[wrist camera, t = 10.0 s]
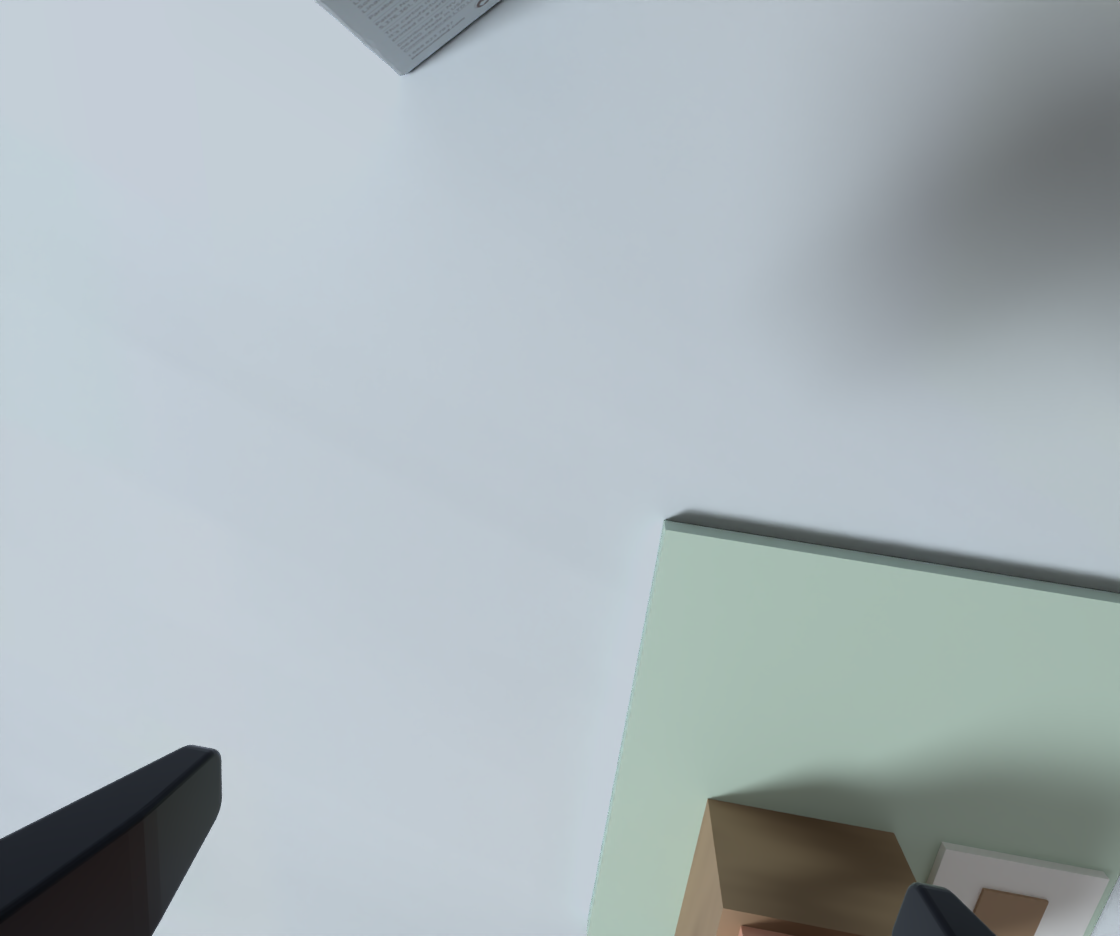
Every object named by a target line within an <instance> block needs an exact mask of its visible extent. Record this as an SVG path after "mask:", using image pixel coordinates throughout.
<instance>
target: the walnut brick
mask: <svg viewBox="0 0 1120 936" xmlns="http://www.w3.org/2000/svg"><path fill="white" fill-rule="evenodd" d="M914 882H916V879H915V877H914V875H913V873H912V871H911V869H910V866H909V864H908V862H907V860H906V858H905V856H904V853H903V851H902V849H901V847H900V845H899V843H898V840H897V838H896V836H895V834H894V833H892V832H886V831H881V830H875V829H870V828H865V827H859V826H854V825H848V824H843V823H838V822H832V821H827V820H821V819H816V818H811V817H805V816H800V815H794V814H789V813H784V812H778V811H773V810H767V809H762V808H757V807H751V806H746V805H740V804H735V803H730V802H724V801H719V800H713V799H707V803H706V807H705V811H704V816H703V820H702V824H701V828H700V832H699V836H698V840H697V844H696V848H695V853H694V857H693V861H692V865H691V869H690V873H689V877H688V881H687V886H686V890H685V894H684V898H683V902H682V906H681V910H680V914H679V919H678V923H677V927H676V931H675V935H674V936H738V934H739V931H740V927H741V925H742V926H747V927H752V928H757V929H762V930H768V931H773V932H778V933H783V934H788V935H793V936H892V930H893V926H894V924H895V921H896V918H897V915H898V913H899V910H900V907H901V904H902V902H903V899H904V896H905V894H906V891H907V889H908V887H909V886H910V885H911V884H912V883H914Z"/></svg>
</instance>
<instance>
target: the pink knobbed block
mask: <svg viewBox="0 0 1120 936" xmlns="http://www.w3.org/2000/svg"><path fill="white" fill-rule="evenodd" d="M738 936H793V935H788V934H783V933H778V932H773V931H768V930H762V929H757V928H752V927H747V926H742V925H741V927H740V931H739V934H738Z"/></svg>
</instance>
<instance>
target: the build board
mask: <svg viewBox="0 0 1120 936" xmlns="http://www.w3.org/2000/svg"><path fill="white" fill-rule="evenodd" d="M707 799H713V800H719V801H724V802H730V803H735V804H740V805H746V806H751V807H757V808H762V809H767V810H773V811H778V812H784V813H789V814H794V815H800V816H805V817H811V818H816V819H821V820H827V821H832V822H838V823H843V824H848V825H854V826H859V827H865V828H870V829H875V830H881V831H886V832H892V833H894V834H895V836H896V838H897V840H898V843H899V845H900V847H901V849H902V851H903V853H904V856H905V858H906V860H907V862H908V864H909V866H910V869H911V871H912V873H913V875H914V877H915V879H916V882H920V883H926V884H931V885H936V886H941V887H944V888H947V889H948V890H950V891H951V892H952V893H953V894H955V895H956V896H957V897H958V898H959V899H960V900H961V901H962V902H963V903H964V904H965V905H966V906H967V907H968V908H969V909H970V910H971V911H972V912H973V913H974V914H975V915H976V916H977V917H978V918H979V919H980V920H981V921H982V922H983V923H984V924H985V925H986V926H987V927H988V928H989V929H990V930H991V931H992V932H993V933H994V934H995V935H996V936H1090V935H1091V933H1092V931H1093V929H1094V927H1095V925H1096V923H1097V921H1098V919H1099V917H1100V914H1101V912H1102V910H1103V908H1104V906H1105V904H1106V902H1107V900H1108V898H1109V896H1110V894H1111V892H1112V890H1113V887H1114V885H1115V883H1116V881H1117V879H1118V877H1119V875H1120V594H1119V593H1113V592H1107V591H1100V590H1094V589H1088V588H1082V587H1076V586H1069V585H1063V584H1057V583H1051V582H1045V581H1038V580H1032V579H1026V578H1020V577H1014V576H1008V575H1001V574H995V573H989V572H983V571H977V570H970V569H964V568H958V567H952V566H946V565H939V564H933V563H927V562H921V561H915V560H908V559H902V558H896V557H890V556H884V555H877V554H871V553H865V552H859V551H853V550H846V549H840V548H834V547H828V546H822V545H816V544H809V543H803V542H797V541H791V540H785V539H778V538H772V537H766V536H760V535H754V534H747V533H741V532H735V531H729V530H723V529H716V528H710V527H704V526H698V525H692V524H685V523H679V522H673V521H667V520H664V524H663V529H662V535H661V540H660V545H659V550H658V556H657V561H656V566H655V571H654V577H653V582H652V587H651V592H650V597H649V603H648V608H647V613H646V618H645V624H644V629H643V634H642V639H641V644H640V650H639V655H638V660H637V665H636V671H635V676H634V681H633V686H632V691H631V697H630V702H629V707H628V712H627V718H626V723H625V728H624V733H623V739H622V744H621V749H620V754H619V759H618V765H617V770H616V775H615V780H614V786H613V791H612V796H611V801H610V806H609V812H608V817H607V822H606V827H605V833H604V838H603V843H602V848H601V853H600V859H599V864H598V869H597V874H596V880H595V885H594V890H593V895H592V901H591V906H590V911H589V916H588V925H587V936H674V935H675V931H676V927H677V923H678V919H679V914H680V910H681V906H682V902H683V898H684V894H685V890H686V886H687V881H688V877H689V873H690V869H691V865H692V861H693V857H694V853H695V848H696V844H697V840H698V836H699V832H700V828H701V824H702V820H703V816H704V811H705V807H706V803H707Z"/></svg>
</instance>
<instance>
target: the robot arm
mask: <svg viewBox="0 0 1120 936" xmlns="http://www.w3.org/2000/svg"><path fill="white" fill-rule="evenodd" d="M221 801H222V775H221V756H220V753H219V752H218V751H217V750H215V749H212V748H207V747H201V746H196V745H187V746H184V747H182V748H180V749H178V750H176V751H174V752H172V753H170V754H168V755H166V756H164V757H162V758H160V759H158V760H156V761H154V762H152V763H150V764H148V765H146V766H144V767H142V768H140V769H138V770H136V771H134V772H132V773H130V774H128V775H126V776H124V777H122V778H120V779H118V780H116V781H114V782H112V783H110V784H108V785H106V786H104V787H103V788H101V789H99V790H97V791H95V792H93V793H91V794H89V795H87V796H85V797H83V798H81V799H79V800H77V801H75V802H73V803H71V804H69V805H67V806H65V807H63V808H61V809H59V810H57V811H55V812H53V813H51V814H49V815H47V816H45V817H43V818H41V819H39V820H37V821H35V822H33V823H31V824H29V825H27V826H25V827H23V828H21V829H19V830H17V831H15V832H13V833H11V834H9V835H7V836H5V837H4V838H2V839H0V936H152V935H153V933H154V931H155V929H156V928H157V926H158V924H159V922H160V921H161V919H162V917H163V915H164V913H165V912H166V910H167V908H168V906H169V904H170V902H171V901H172V899H173V897H174V895H175V893H176V891H177V890H178V888H179V886H180V884H181V882H182V880H183V879H184V877H185V875H186V873H187V871H188V869H189V868H190V866H191V864H192V862H193V860H194V858H195V857H196V855H197V853H198V851H199V849H200V847H201V846H202V844H203V842H204V840H205V838H206V836H207V835H208V833H209V831H210V829H211V827H212V825H213V824H214V822H215V820H216V818H217V815H218V813H219V810H220V807H221ZM892 936H996V935H995V934H994V933H993V932H992V931H991V930H990V929H989V928H988V927H987V926H986V925H985V924H984V923H983V922H982V921H981V920H980V919H979V918H978V917H977V916H976V915H975V914H974V913H973V912H972V911H971V910H970V909H969V908H968V907H967V906H966V905H965V904H964V903H963V902H962V901H961V900H960V899H959V898H958V897H957V896H956V895H955V894H953V893H952V892H951V891H950V890H948V889H947V888H944V887H941V886H936V885H931V884H926V883H920V882H914V883H912V884H911V885H910V886H909V887H908V889H907V891H906V894H905V896H904V899H903V902H902V904H901V907H900V910H899V913H898V915H897V918H896V921H895V924H894V926H893V930H892Z"/></svg>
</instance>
